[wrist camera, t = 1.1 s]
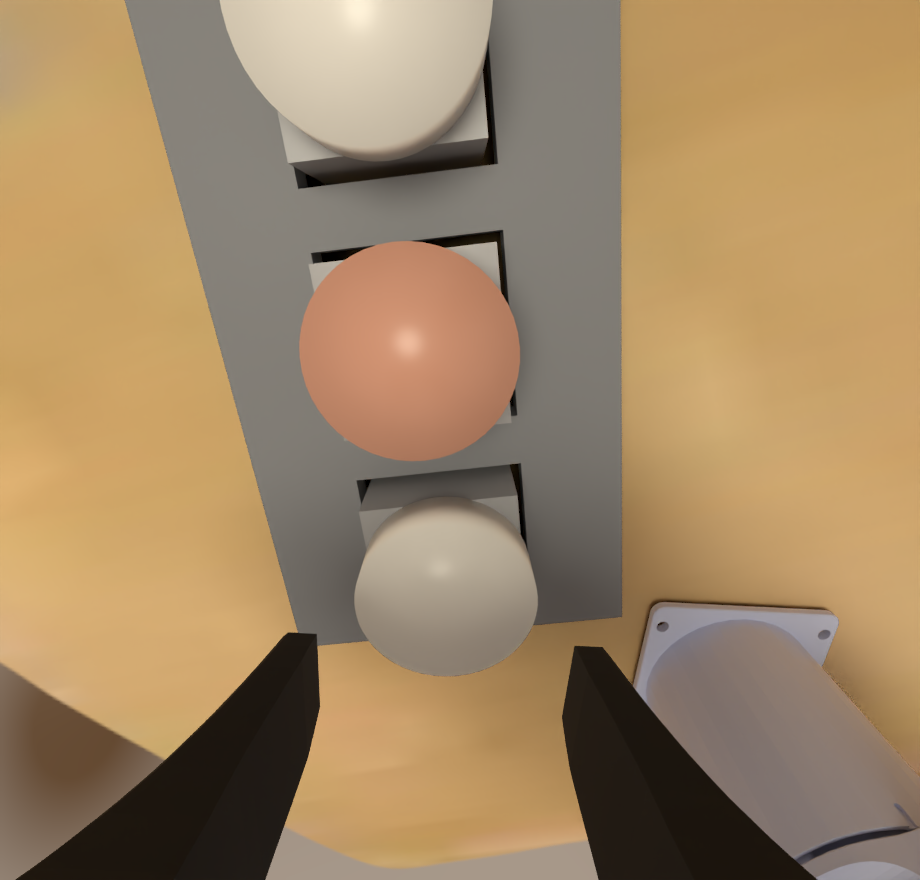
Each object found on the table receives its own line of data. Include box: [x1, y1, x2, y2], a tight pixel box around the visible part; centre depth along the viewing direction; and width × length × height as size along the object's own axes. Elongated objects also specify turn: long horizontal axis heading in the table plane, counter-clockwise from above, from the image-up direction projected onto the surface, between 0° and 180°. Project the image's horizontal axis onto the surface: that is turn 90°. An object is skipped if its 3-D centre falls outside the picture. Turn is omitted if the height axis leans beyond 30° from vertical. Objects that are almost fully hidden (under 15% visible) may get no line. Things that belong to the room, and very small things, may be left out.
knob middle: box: [299, 241, 520, 461], centre depth 13 cm, size 5×5×5 cm
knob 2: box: [354, 464, 538, 676], centre depth 15 cm, size 5×5×5 cm
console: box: [125, 0, 622, 646], centre depth 16 cm, size 20×11×4 cm, turn 6°
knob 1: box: [220, 0, 493, 185], centre depth 11 cm, size 5×5×5 cm
